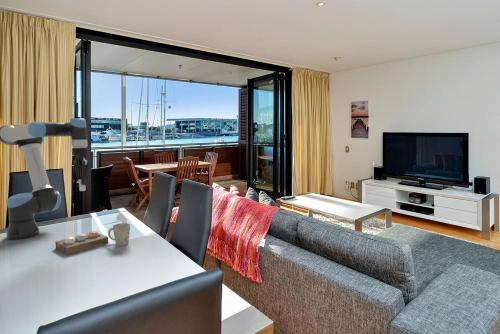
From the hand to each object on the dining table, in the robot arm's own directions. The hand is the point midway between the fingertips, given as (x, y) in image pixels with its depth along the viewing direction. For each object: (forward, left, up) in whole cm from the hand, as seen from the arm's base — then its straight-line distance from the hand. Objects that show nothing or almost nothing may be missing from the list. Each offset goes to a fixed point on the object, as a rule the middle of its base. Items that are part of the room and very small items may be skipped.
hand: (82, 190), depth 175 cm
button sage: (+12, -7, -25) cm, 28 cm away
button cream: (+12, -13, -25) cm, 30 cm away
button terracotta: (+12, -1, -25) cm, 27 cm away
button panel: (+12, -7, -26) cm, 30 cm away
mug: (+24, +6, -27) cm, 36 cm away
